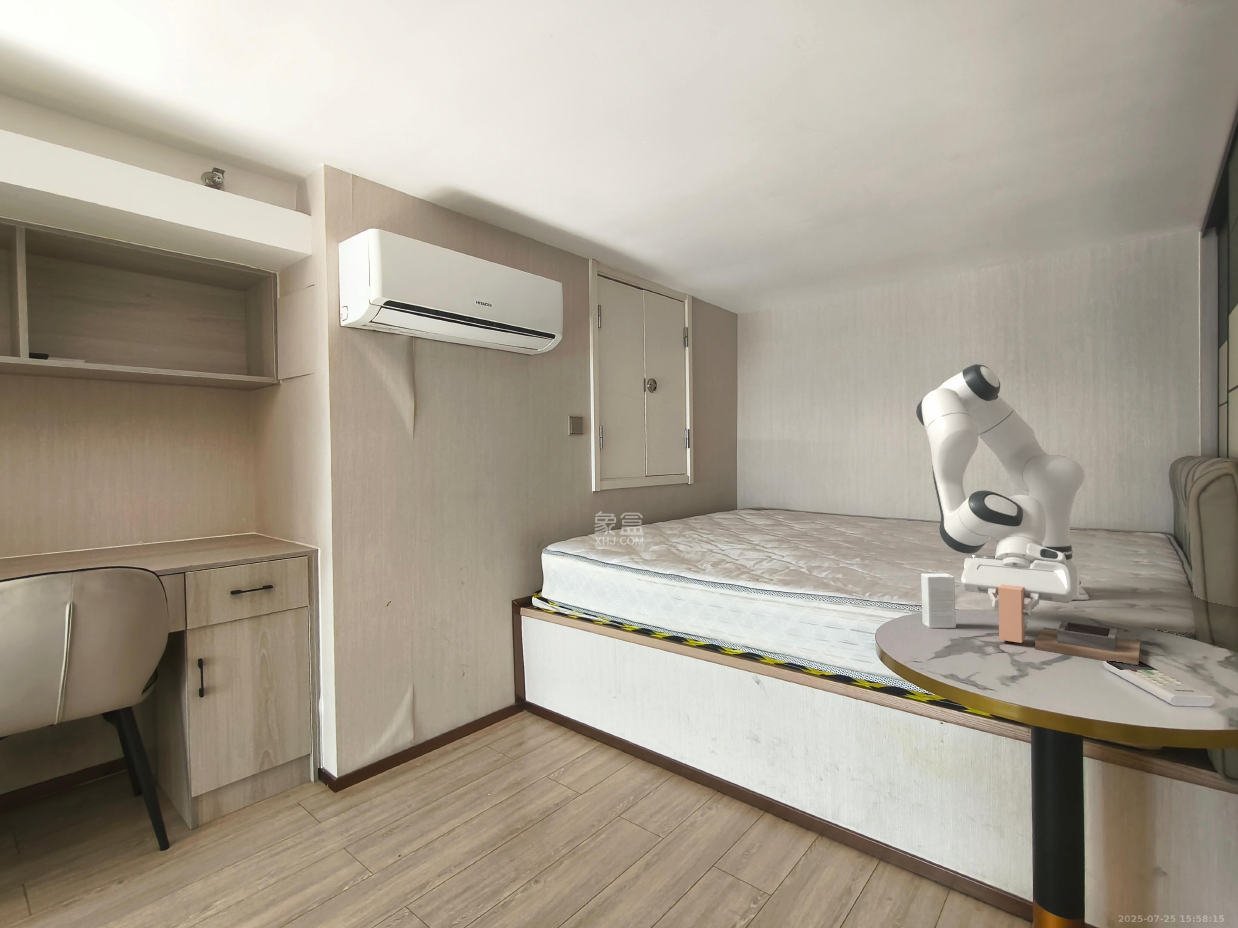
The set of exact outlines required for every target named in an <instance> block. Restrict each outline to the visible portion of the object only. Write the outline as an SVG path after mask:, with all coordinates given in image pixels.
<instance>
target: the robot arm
mask: <svg viewBox="0 0 1238 928" xmlns="http://www.w3.org/2000/svg"><path fill="white" fill-rule="evenodd" d="M1000 391H1001V382H1000V380H999V378H998V376H997V375H996V374H995V372H994V371H992V370H991V369H990V368H989V367H987V366H986V365H983V364H978V363H976V364H975V363H974V364H973V365H970V366H968V367H965V368H964V369H963V370H962V371H961V372H958V373H957V374H955V375H954V376H951V377H950V378H949V379H946V380H945V381H944V382H942V384H941V385H940V386H938V387H937V388H936V389H933V390H931V391H930V392H928V393H927V394H926V395H924V397H923V398H922V399H921V400H920V402H919V403H918V404H917V406H916V417H917V419H918V421H919V422H920V424H921V425H922V426H924V429H925V432H926V435H927V439H928V443H929V447H930V452H931V463H932V464H931V465H932V466H931V467H932V478H933V484H934V488H935V491H936V492H935V493H936V498H937V503H938V507H939V510H940V511H939V513H940V523H939V535H940V537H941V539H942V540H943V542H944V544H946V545H947V546H948V547H949V548H950V549H952V550H954V551H955V552H959V553H962V554H968V555H969V554H971V555H970V556H968V557H966V558H965V559H964V562H963V568H964V569H963V571H962V573H961V576H960V577H961V579H960V581H961V582H960V583H961V586H962V588H963V589H964V591H966V592H967V593H968V592H969V593H979V594H983V595H984V594H985V595H988V597H989V599H990V601H991V603H992V604H991V609H992V611H994V612H999V600H998V599H997V598H998V596H999V594H998V588H999V587H1000V586H1001V585H1002V584H1003V585H1012V586H1022V587H1024V599H1027V600H1028V599H1029V602H1028V603H1024V604H1023V606H1022V607H1023V608H1022V613H1023V615H1025V616H1030V617H1031V616H1032V612H1033V610H1034V609H1035V608H1036V607H1037V606H1038V605H1040V601H1044V602H1045V601H1046V602H1054V603H1062V604H1069V603H1070V602H1071V601H1073V600H1076V601H1077V600H1080V601H1081V600H1085V601H1086V600H1089V599H1090V598H1089V595H1088V594H1087V592H1086V591H1085V589H1084V588H1083V587H1082V586H1081V584H1082V581H1081V580H1080V579H1079V574H1080V573H1079V567H1078V566H1077V565H1076V564H1075V563H1073V560H1072V559H1073V553H1074V551H1073V546H1072V545H1071V536H1070V535H1071V515H1072V514H1071V513H1072V509H1073V505H1074V503H1075V499H1076V494H1077V491H1078V490H1079V489H1080V488H1081V487H1082V486H1083V484H1084V481H1085V471H1084V469H1083V467H1082V465H1081V464H1080V463H1079V462H1077V461H1076V460H1074V459H1072V458H1070V457H1068V456H1065V455H1062V454H1049V453H1047V452H1046V451H1045V450H1044V449H1043V447H1041V445H1040V443H1039V441H1038V440H1037V438H1036V435H1035V431H1034V429H1033V428H1032V427H1031V426H1030V425H1029V424H1028V423H1027V422H1026V421H1025V419H1023V418H1022V417H1021V415H1019V413H1018V412H1017V411H1016V410H1015V409H1014V408H1013V407H1012V406H1011V405H1010V404H1009V403H1008V402H1007V401H1006V400H1005V399H1003V398H1002V397H1001V396H999V393H1000ZM979 439H981V440H982V442H983V443H984V444H985V445H986V446H987V447H988V448H989V449H990V451H992V452H993V453H994V455H995V456H996V457H997V458H998V461H1000V463H1001V464H1002V466H1003V468H1004V469H1005V471H1006V472H1007V474H1008V475H1009V478H1010V480H1011V481H1012V483H1013V484H1014V485H1015V486H1016V487H1017V488H1019V489H1021V490H1022V491H1024V492H1028V495H1026V494H1014V495H1010V496H1009V495H1008V496H1007V495H1002V494H1001V493H997V492H995V491H991V490H983V489H982V490H977V491H975V492H973V493H971V494H970V496H968V497H967V498H966V495H965V490H964V486H963V485H964V484H963V479H964V476H965V475H964V474H965V472H966V469H967V467H968V464H969V462H970V461H971V459H972V458H973V455H974V454H975V452H976V450H977V447H978V446H979ZM992 538H993V539H995V540H996V550H995V553H994V554H995V555H980V554H975V553H977V552H979V551H981V549H982V548H983V547H984V546H985V545H986V543H988V541H990V539H992ZM972 554H973V555H972Z"/></svg>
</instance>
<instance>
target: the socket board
mask: <svg viewBox="0 0 1238 928" xmlns="http://www.w3.org/2000/svg"><path fill="white" fill-rule="evenodd" d="M1034 649H1035V650H1039V651H1045V652H1050V653H1056V654H1062V655H1066V656H1067V655H1068V656H1074V657H1080V658H1085V659H1086V658H1088V659H1092V660H1097V661H1103V662H1104V661H1105V662H1109V661H1116V662H1123V663H1132V664H1137V665H1138V664H1139V663H1140V662H1139V661H1140V650H1141V640H1134V639H1127V638H1121V637H1118V628H1117V627H1112V626H1104V625H1098V624H1097V625H1096V624H1089V623H1081V622H1074V621H1069V620H1068V621H1067V620H1066V621H1065V620H1062V621H1061V622H1060V624H1059V627H1058V628H1052V627H1043V628H1042V630H1041V631H1040V633H1039V635H1038V636H1037V638H1036V640H1035V641H1034ZM1106 660H1108V661H1106ZM1138 666H1139V665H1138Z"/></svg>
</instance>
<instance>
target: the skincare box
mask: <svg viewBox="0 0 1238 928" xmlns="http://www.w3.org/2000/svg"><path fill="white" fill-rule="evenodd" d="M920 576H921V577H920V581H921V583H920V584H921V585H920V587H921V609H922V610H921V613H922V615H921V616H922V625H925V626H926V627H927V628H929V629H955V628H957V626H956V625H957V624H956V622H957V620H956V619H957V618H956V587H955V586H956V582H955V580H956V579H955V578H956V577H955V576H953V575H951V574H950V573H946V572H944V573H939V572H938V573H932V572H931V573H921V574H920Z"/></svg>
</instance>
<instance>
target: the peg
mask: <svg viewBox="0 0 1238 928" xmlns="http://www.w3.org/2000/svg"><path fill="white" fill-rule="evenodd" d="M998 594H999V595H998V601H999V611H998V639H999V640H1000V641H1008V642H1014V643H1020V644H1021V643H1023V641H1025V638H1026V636H1025V635H1026V634H1025V633H1026V629H1025V627H1026V626H1025V621H1026V620H1025V616H1026V615H1023V613H1022V608H1023V607H1022V606H1023V604H1025V598H1024V587H1022V586H1012V585H1003V584H1002V585H1001V586H1000V587H999V588H998Z"/></svg>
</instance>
